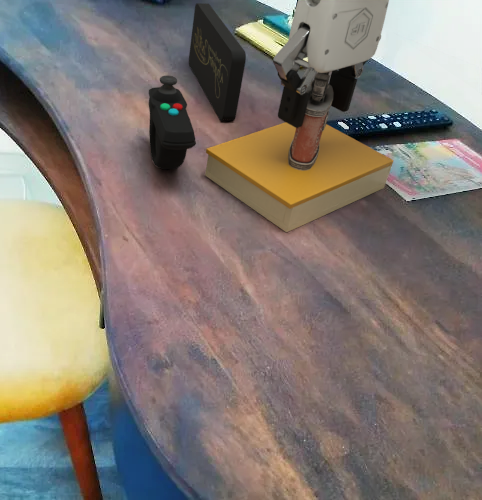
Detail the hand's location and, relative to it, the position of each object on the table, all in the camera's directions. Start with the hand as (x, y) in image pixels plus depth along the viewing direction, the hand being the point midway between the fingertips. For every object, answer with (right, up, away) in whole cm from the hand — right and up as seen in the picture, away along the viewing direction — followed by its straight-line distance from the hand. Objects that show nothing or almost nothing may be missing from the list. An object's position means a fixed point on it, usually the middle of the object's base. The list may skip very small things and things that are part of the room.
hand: (313, 113), depth 73 cm
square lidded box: (-1, -7, +6) cm, 9 cm away
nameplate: (-9, +9, +25) cm, 28 cm away
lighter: (0, -4, +3) cm, 5 cm away
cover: (-1, -5, +3) cm, 6 cm away
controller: (-17, -5, +6) cm, 19 cm away
